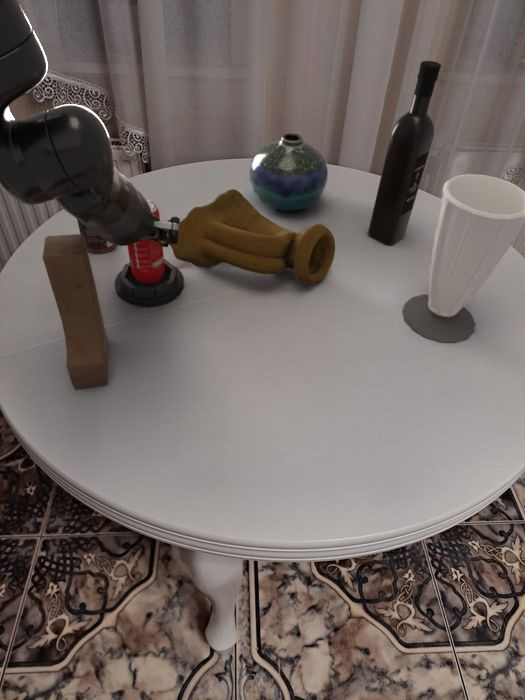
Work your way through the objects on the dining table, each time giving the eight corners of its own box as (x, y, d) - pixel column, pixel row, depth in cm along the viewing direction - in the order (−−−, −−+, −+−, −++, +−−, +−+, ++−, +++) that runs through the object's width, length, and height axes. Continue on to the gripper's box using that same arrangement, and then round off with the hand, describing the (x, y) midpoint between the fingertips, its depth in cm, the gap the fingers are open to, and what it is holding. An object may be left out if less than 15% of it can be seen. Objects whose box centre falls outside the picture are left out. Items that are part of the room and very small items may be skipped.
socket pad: (141, 316, 78) (139, 304, 76) (102, 282, 83) (99, 270, 81) (197, 288, 83) (197, 275, 82) (158, 257, 89) (156, 245, 87)
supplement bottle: (122, 249, 90) (112, 190, 82) (89, 258, 87) (75, 198, 79) (111, 232, 93) (101, 174, 85) (79, 240, 91) (65, 181, 83)
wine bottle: (406, 236, 98) (457, 64, 76) (390, 247, 95) (438, 72, 73) (381, 224, 100) (424, 55, 79) (365, 235, 97) (404, 62, 76)
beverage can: (142, 289, 79) (133, 220, 70) (126, 272, 82) (115, 205, 73) (171, 277, 81) (165, 209, 73) (154, 261, 84) (146, 195, 76)
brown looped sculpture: (241, 182, 94) (345, 205, 83) (235, 251, 99) (332, 281, 88) (167, 185, 80) (280, 214, 69) (165, 265, 86) (269, 303, 74)
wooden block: (108, 385, 68) (82, 277, 55) (73, 390, 67) (38, 281, 54) (108, 339, 74) (83, 232, 61) (75, 343, 73) (44, 235, 60)
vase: (233, 203, 103) (234, 137, 94) (277, 176, 112) (282, 114, 103) (295, 230, 97) (303, 163, 88) (337, 200, 106) (348, 136, 97)
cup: (484, 313, 83) (543, 191, 67) (461, 354, 76) (521, 227, 60) (418, 286, 87) (459, 165, 71) (390, 322, 80) (430, 196, 64)
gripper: (174, 182, 62) (196, 219, 79) (57, 171, 62) (104, 210, 79) (167, 244, 62) (191, 267, 79) (51, 232, 62) (99, 258, 79)
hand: (147, 238), depth 79 cm, fingers closed on beverage can, 5 cm apart
